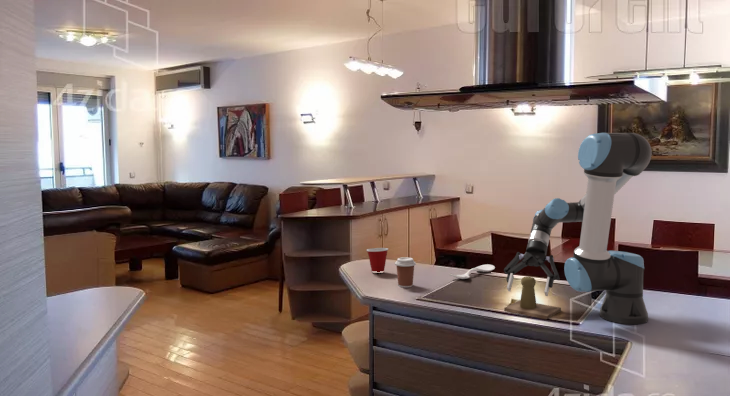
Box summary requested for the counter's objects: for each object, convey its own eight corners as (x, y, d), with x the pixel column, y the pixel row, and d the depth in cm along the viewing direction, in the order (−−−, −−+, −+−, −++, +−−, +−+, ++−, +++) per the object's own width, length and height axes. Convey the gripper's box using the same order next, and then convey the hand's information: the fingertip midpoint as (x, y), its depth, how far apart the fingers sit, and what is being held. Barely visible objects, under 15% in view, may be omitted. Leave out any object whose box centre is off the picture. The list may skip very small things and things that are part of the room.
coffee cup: (415, 288, 234) (415, 261, 233) (394, 288, 236) (393, 260, 235) (416, 283, 243) (416, 256, 242) (396, 282, 245) (396, 256, 244)
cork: (537, 309, 198) (537, 279, 197) (520, 308, 199) (520, 279, 198) (535, 304, 204) (536, 275, 203) (518, 303, 205) (519, 275, 204)
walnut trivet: (560, 310, 200) (560, 307, 200) (546, 319, 190) (546, 316, 190) (519, 303, 210) (519, 300, 210) (504, 310, 200) (504, 307, 200)
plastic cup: (380, 269, 273) (380, 245, 272) (393, 273, 264) (392, 248, 263) (362, 272, 267) (361, 248, 266) (374, 276, 258) (374, 251, 257)
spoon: (448, 280, 249) (448, 273, 249) (481, 268, 274) (481, 261, 273) (465, 283, 244) (465, 275, 243) (498, 270, 268) (498, 263, 268)
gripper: (572, 253, 208) (563, 301, 196) (507, 248, 221) (495, 293, 209) (570, 241, 203) (560, 290, 191) (504, 237, 216) (491, 282, 204)
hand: (526, 291), depth 200 cm, fingers open, 13 cm apart
